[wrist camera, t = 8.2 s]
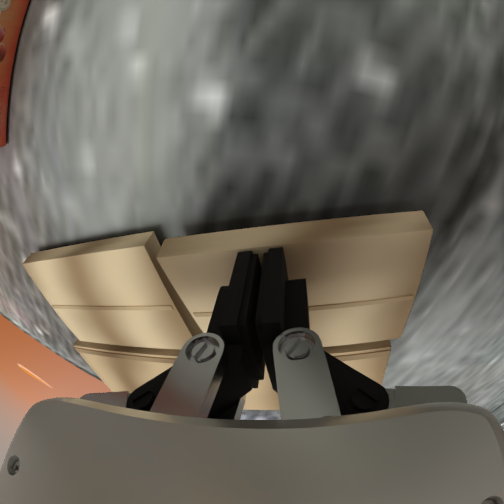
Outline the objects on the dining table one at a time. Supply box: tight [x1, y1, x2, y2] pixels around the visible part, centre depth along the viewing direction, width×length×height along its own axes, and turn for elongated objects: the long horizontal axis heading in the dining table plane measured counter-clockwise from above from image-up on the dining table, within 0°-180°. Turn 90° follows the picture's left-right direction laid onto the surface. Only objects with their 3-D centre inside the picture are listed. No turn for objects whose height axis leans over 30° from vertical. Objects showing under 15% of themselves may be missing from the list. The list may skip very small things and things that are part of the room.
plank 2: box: [156, 211, 433, 347], centre depth 13 cm, size 11×8×1 cm
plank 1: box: [23, 231, 203, 349], centre depth 16 cm, size 11×8×1 cm
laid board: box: [73, 339, 391, 410], centre depth 20 cm, size 24×7×1 cm, turn 102°
